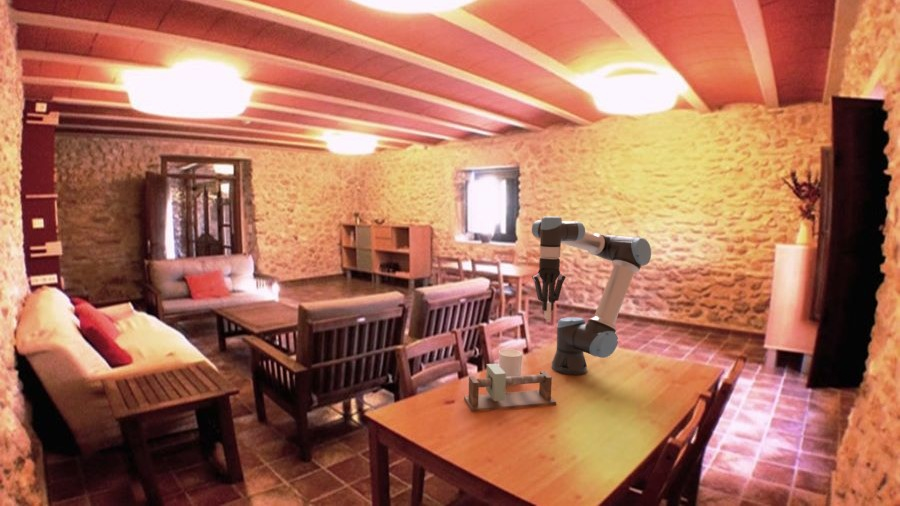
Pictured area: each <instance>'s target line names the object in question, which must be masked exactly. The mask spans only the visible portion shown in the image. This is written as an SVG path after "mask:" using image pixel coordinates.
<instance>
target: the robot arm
mask: <svg viewBox="0 0 900 506" xmlns="http://www.w3.org/2000/svg"><path fill="white" fill-rule="evenodd" d="M531 234H532V235H533V237H535V238H537V239H540V240H539V243H540V245H539V256H540V258H539V264H538V267H539V269H538V271H537V274H535V275H532V276H531V278H532V280H533V282H534V287H535V291H536V296H537V300H538V301H540V302H542V303H541V304H542V306H541V309H542V311H543V319H545V320H546V321H551V319H552V317H551V316H552V311H553V310H554V303H556V302H558V301H559V298H560V296H561V290H562V287H563V283H564V281H565V280H566V275H564V274H561V271H560V268H561V266H560V265H561V259H560V257H561V244H563V245H567V246H568V247H572V248H576V249H580V250H582V251H587V252H588V253H589V254H590V255H593V256H596V257H598V258H602V259H604V260H607V261H610V262H611V263H612V265H613V268H612V270H611V273H610V276H609V278H608V281H607V282H606V285H605V288H604V289H603V292H602V295H601V298H600V300H599V303H598V306H597V308H596V311H595V313H594V315H593V317H590V318H588V321H587V323H586V319H585V318H582V317H576V316H575V317H574V316H571V317H570V316H569V317H562V318H559V320H558V321H557V327H556V349H555V350H556V351H555V354H554V356H553V359H552V361H551V368H552V369H553V371H555V372H557V373H559V374H560V373H561V374H563V375H568V376H569V375H572V376H573V375H574V376H577V375H578V376H579V375H583V374H586V373H587V370H588V366H587V362H586V361H587V360H586V359H585V358H586V356H585V354H587V355H591V356H593V357H595V358H596V357H597V358H601V359H604V358H608V357H610V356H611V355H612V354H614V353H615V351H616V349H617V346H618V343H619V337H618V335H617V333H616V331H617V329H616V327H615V323H616V321H617V318H618V316H619V314H620V310H621V308H622V305H623V302H624V300H625V298H626V295H627V293H628V290H629V287H630V286H631V281H632V279H633V277H634V275H635V274H636V273H638V272H640V269H641V267H642V266H646V265H648V264H649V263H650V261H651V258H652V248H651V245H650V243H649V241H648V240H647V239H646V238H643V237H638V236H627V235H625V236H624V235H607V234H606V235H605V234H600V233H594V234H592V233H589V232H586V227H585V225H584V224H583V223H582V222H581V221H575V220H573V221H565V220H564V221H563V219H562V217H560V216H543V217H541V219H537V220H536V221H534V222H533V224H532V226H531ZM540 280H542V281H540ZM541 283H542V285H541ZM584 353H585V354H584Z"/></svg>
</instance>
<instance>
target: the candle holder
mask: <svg viewBox="0 0 900 506" xmlns="http://www.w3.org/2000/svg"><path fill="white" fill-rule="evenodd" d="M523 355H524V354H523V351H521V350H518V349H516V348H515V349H514V348H503V349H500V350H499V351H498V365H499V366H500V368H501V369H502V370H503V371H504V372H505V373H506V377H512V376H522V374H521V373H522V363H523Z"/></svg>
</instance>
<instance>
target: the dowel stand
mask: <svg viewBox="0 0 900 506" xmlns="http://www.w3.org/2000/svg"><path fill="white" fill-rule="evenodd" d="M552 379H553V377H552V376H551V375H550V374H549V373H547V372H546V371H544V370H543V371H540V372H539V374H528V375H520V376H512V377H506V385H505V386H517V385H527V384H528V385H529V384H539V385H538V386H539V388H538V389H537V390H526V391H525V390H524V391H513V392H512V391H511V392H505V400H504V401H494V400H493V399H492V397H491V396H490V395H489V393H486V394H480V393H479V388H486V387H492V377H491V378H485V377H484V378H476V376H475V375H474V376H473V375H472V376H468V395H464V396H463V398H464V401H465V403H466V405H467V406H468V408H469V410H470V411H471V413H475V412H486V411H497V410H498V411H499V410H509V409H521V408H531V407H535V408H536V407H543V406H556V405H557V401H556V400H555V399H554V398H553V397H552V383H553V381H552Z"/></svg>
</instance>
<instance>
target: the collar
mask: <svg viewBox="0 0 900 506" xmlns="http://www.w3.org/2000/svg"><path fill="white" fill-rule="evenodd" d="M485 371H486V378H491V377H492V387H485V390H486V392H487V394H489V395H490V396H491V397H492V399H493V400H494V401H504V400H505V393H506V386H507V385H506V373H505V372H504V371H503V370H502V369H501V368H500V366H499V363H486V370H485Z"/></svg>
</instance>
